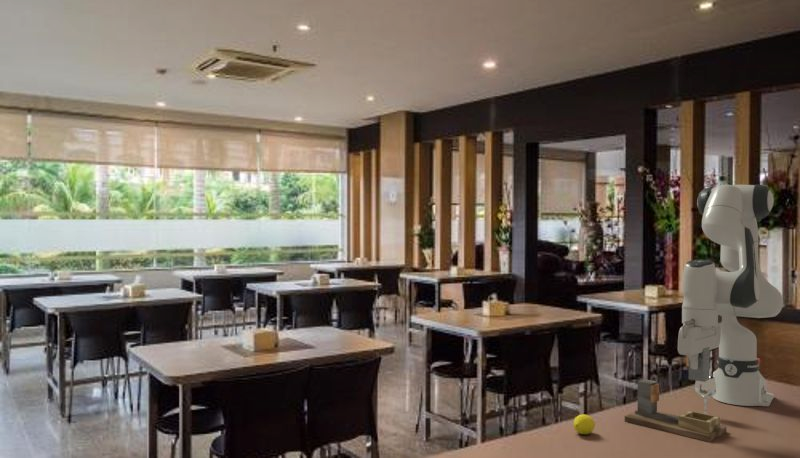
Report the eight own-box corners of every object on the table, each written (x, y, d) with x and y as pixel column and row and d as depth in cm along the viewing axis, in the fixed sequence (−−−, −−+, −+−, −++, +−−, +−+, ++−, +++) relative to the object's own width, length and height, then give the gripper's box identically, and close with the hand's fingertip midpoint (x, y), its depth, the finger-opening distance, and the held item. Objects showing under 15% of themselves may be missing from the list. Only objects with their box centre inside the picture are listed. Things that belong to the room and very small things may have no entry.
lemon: (582, 431, 176) (583, 411, 177) (598, 436, 172) (600, 416, 172) (567, 432, 172) (568, 412, 172) (583, 437, 168) (585, 417, 168)
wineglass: (718, 419, 185) (718, 379, 185) (697, 418, 186) (697, 378, 186) (712, 414, 191) (713, 375, 191) (692, 413, 192) (692, 374, 192)
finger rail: (643, 413, 192) (643, 376, 192) (726, 432, 174) (726, 391, 174) (624, 421, 183) (624, 382, 183) (709, 441, 166) (709, 398, 166)
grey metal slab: (709, 379, 173) (709, 347, 173) (703, 381, 171) (703, 349, 171) (692, 376, 177) (692, 345, 177) (686, 378, 174) (686, 346, 174)
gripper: (695, 322, 164) (695, 375, 164) (725, 316, 178) (724, 364, 178) (671, 320, 169) (671, 371, 169) (702, 313, 183) (702, 360, 183)
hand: (699, 367), depth 173 cm, fingers closed on grey metal slab, 4 cm apart
